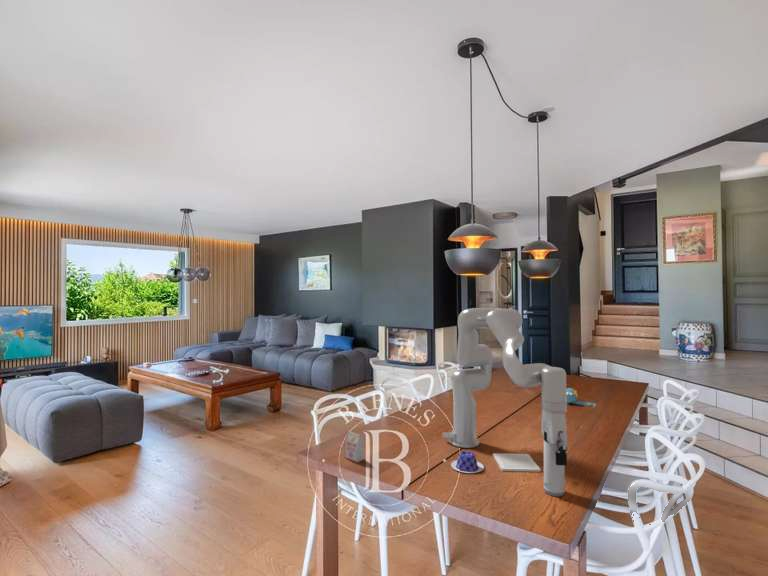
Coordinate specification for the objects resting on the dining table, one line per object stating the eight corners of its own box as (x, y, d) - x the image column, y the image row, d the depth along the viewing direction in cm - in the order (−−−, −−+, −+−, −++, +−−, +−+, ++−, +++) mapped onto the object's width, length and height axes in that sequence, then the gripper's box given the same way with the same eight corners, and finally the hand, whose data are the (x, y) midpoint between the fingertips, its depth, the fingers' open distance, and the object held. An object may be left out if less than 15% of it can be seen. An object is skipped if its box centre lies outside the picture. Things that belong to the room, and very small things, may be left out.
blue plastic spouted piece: (597, 388, 237) (595, 395, 224) (597, 403, 237) (595, 410, 224) (547, 383, 252) (542, 388, 239) (547, 396, 252) (542, 403, 239)
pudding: (448, 460, 156) (448, 447, 156) (479, 461, 155) (479, 447, 156) (453, 475, 144) (453, 460, 144) (487, 475, 143) (487, 460, 144)
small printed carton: (351, 454, 161) (351, 429, 161) (363, 459, 156) (363, 433, 156) (344, 457, 158) (344, 432, 158) (356, 462, 153) (356, 436, 154)
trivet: (501, 471, 146) (501, 468, 146) (492, 455, 160) (492, 453, 160) (540, 471, 146) (540, 469, 146) (528, 455, 160) (528, 453, 160)
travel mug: (543, 495, 129) (543, 432, 129) (543, 485, 135) (543, 426, 135) (565, 498, 127) (565, 435, 127) (563, 489, 133) (563, 428, 133)
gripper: (533, 399, 140) (534, 448, 139) (552, 413, 122) (553, 470, 122) (555, 399, 140) (556, 448, 139) (577, 413, 122) (578, 470, 122)
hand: (555, 458), depth 131 cm, fingers open, 9 cm apart
